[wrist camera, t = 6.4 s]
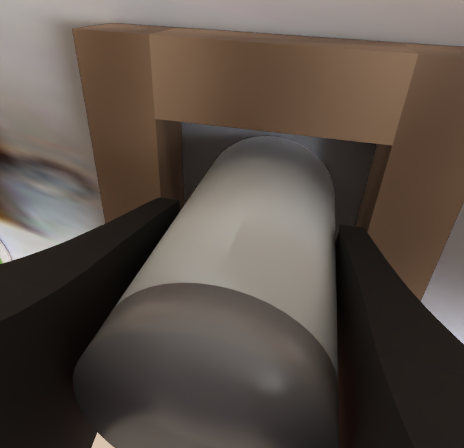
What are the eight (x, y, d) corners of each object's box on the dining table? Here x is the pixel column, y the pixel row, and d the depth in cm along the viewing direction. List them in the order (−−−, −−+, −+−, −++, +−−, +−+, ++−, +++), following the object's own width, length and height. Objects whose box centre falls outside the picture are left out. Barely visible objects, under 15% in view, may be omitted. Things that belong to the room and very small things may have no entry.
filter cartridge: (347, 144, 11) (371, 372, 4) (322, 260, 13) (314, 522, 7) (205, 128, 12) (45, 304, 5) (205, 241, 14) (95, 460, 8)
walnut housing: (489, 48, 9) (523, 61, 7) (382, 329, 14) (389, 373, 13) (112, 23, 11) (72, 29, 9) (143, 283, 16) (121, 317, 14)
